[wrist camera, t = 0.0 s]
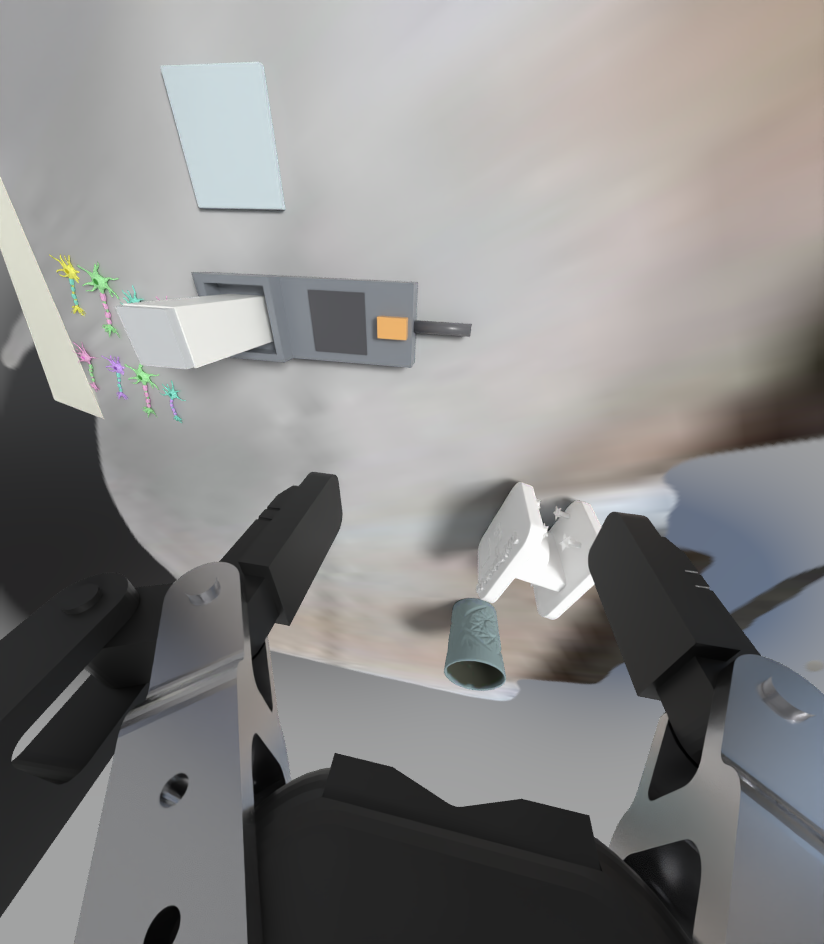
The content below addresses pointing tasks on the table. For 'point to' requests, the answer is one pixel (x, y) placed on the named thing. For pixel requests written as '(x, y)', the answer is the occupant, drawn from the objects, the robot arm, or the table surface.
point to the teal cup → (474, 647)
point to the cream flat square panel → (58, 319)
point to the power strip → (333, 317)
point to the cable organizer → (538, 552)
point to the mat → (226, 134)
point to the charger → (195, 328)
